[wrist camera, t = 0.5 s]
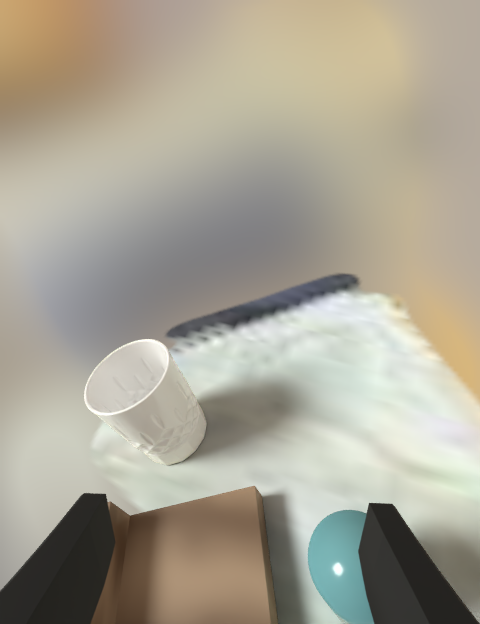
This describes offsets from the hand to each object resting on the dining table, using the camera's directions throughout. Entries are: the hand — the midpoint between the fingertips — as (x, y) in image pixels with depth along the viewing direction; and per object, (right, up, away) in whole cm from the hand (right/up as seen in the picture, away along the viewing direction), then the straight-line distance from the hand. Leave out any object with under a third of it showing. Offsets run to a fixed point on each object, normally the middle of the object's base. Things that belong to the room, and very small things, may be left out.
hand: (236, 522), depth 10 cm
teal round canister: (+8, -12, +13) cm, 20 cm away
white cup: (-6, -7, +27) cm, 29 cm away
